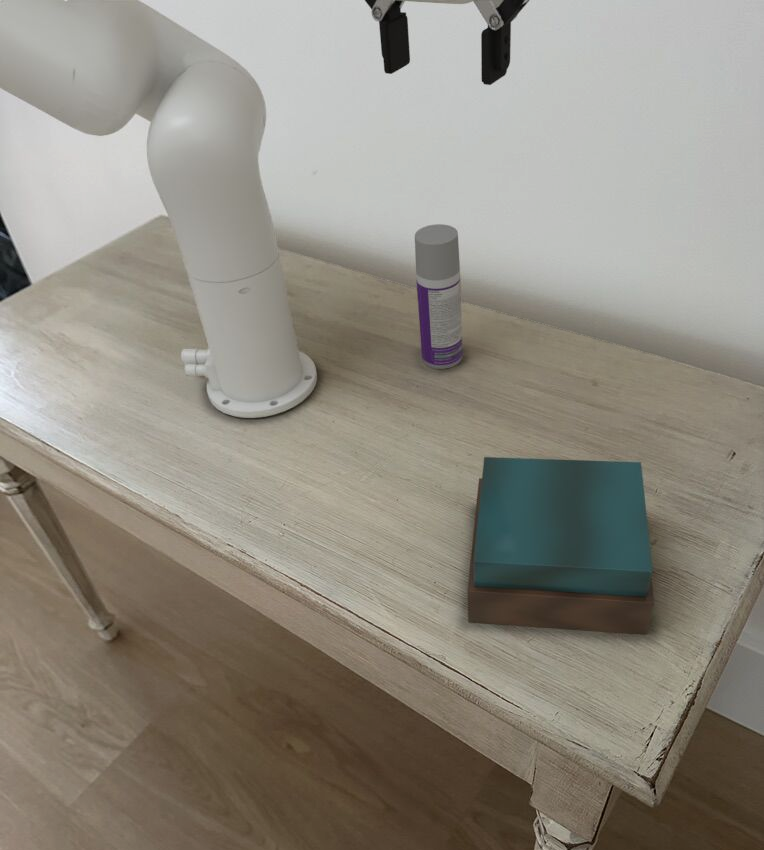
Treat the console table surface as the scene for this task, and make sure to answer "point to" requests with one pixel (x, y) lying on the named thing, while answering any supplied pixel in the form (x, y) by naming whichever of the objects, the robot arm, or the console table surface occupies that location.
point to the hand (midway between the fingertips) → (444, 74)
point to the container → (439, 295)
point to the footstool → (561, 546)
